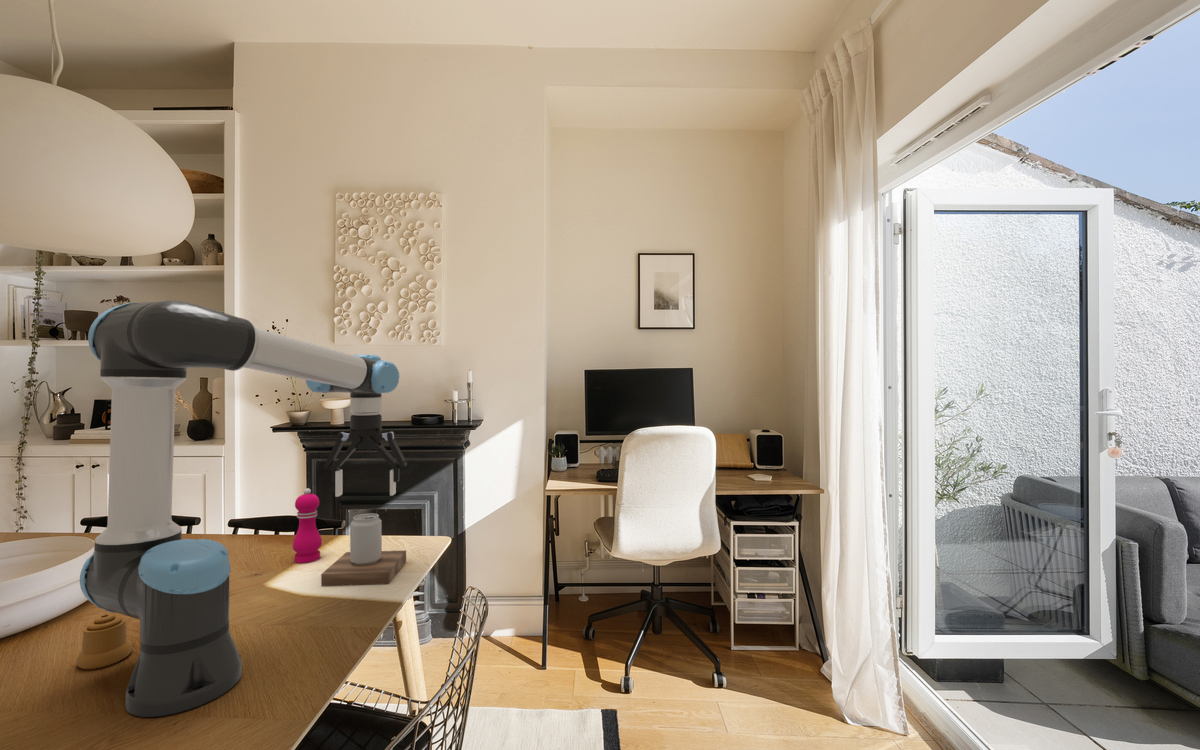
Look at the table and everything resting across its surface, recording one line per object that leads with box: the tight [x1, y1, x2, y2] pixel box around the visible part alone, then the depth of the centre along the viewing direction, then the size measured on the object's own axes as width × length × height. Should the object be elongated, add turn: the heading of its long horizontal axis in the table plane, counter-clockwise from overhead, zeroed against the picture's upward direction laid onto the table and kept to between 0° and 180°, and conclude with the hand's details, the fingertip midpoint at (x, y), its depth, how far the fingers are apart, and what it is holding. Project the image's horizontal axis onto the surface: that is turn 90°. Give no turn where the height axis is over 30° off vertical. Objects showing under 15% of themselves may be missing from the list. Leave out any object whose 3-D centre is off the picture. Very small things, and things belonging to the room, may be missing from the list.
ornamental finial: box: [75, 612, 133, 670], centre depth 97 cm, size 8×8×8 cm
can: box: [349, 512, 383, 566], centre depth 139 cm, size 8×8×12 cm
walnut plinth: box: [320, 549, 407, 587], centre depth 139 cm, size 16×16×3 cm
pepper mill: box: [292, 487, 323, 564], centre depth 149 cm, size 7×7×20 cm
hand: (366, 495), depth 139 cm, fingers open, 13 cm apart
